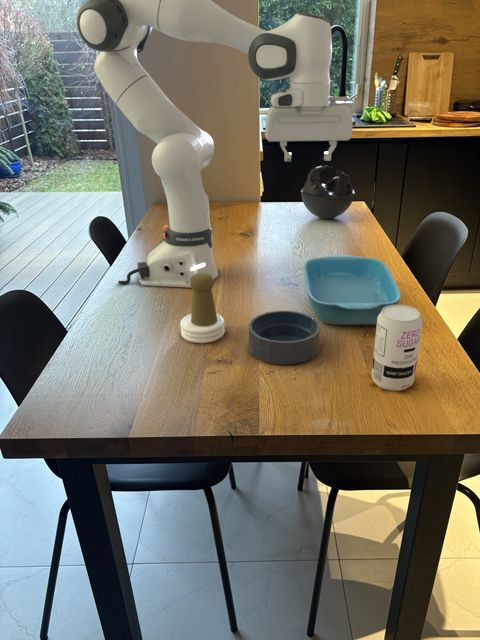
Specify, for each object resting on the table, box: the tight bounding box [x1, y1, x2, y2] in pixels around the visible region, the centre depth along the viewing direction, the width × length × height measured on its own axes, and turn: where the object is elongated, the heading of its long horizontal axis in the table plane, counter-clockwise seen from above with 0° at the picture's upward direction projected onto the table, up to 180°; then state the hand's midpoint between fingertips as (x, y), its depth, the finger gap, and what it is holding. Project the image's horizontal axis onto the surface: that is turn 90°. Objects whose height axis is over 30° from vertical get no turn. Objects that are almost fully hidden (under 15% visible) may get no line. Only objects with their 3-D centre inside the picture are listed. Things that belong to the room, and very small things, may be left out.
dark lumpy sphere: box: [300, 165, 356, 219], centre depth 207 cm, size 20×20×19 cm
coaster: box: [179, 313, 225, 344], centre depth 127 cm, size 10×10×4 cm
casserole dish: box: [303, 254, 402, 326], centre depth 141 cm, size 37×22×7 cm, turn 179°
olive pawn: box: [190, 273, 217, 326], centre depth 123 cm, size 6×6×11 cm
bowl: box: [247, 310, 322, 365], centre depth 120 cm, size 15×15×6 cm
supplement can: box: [371, 304, 424, 392], centre depth 106 cm, size 8×8×15 cm
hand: (307, 160), depth 131 cm, fingers open, 8 cm apart
